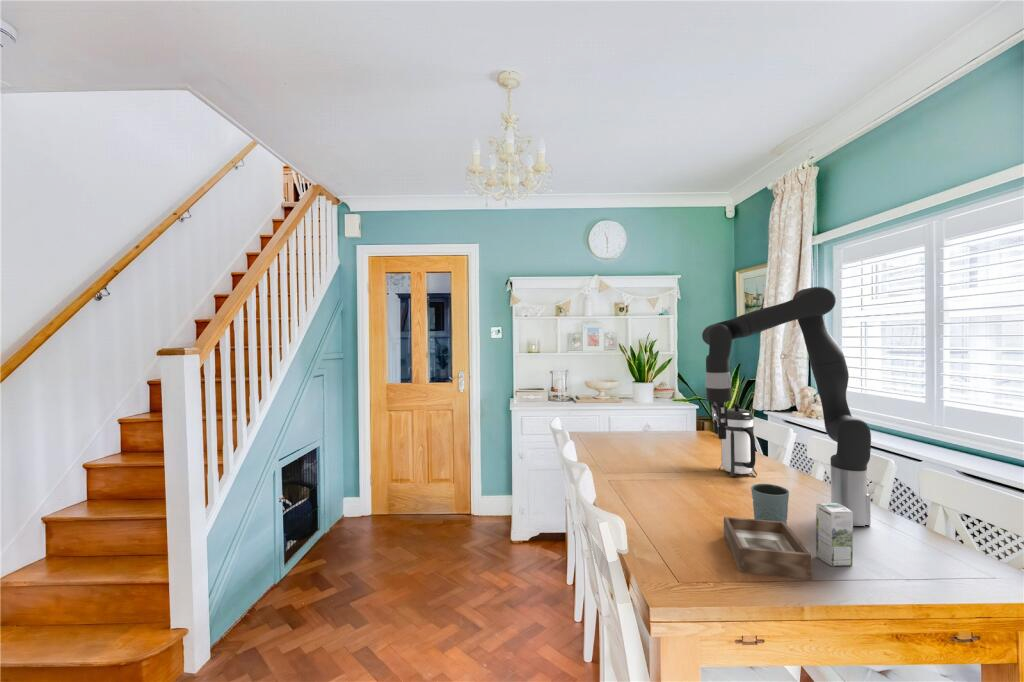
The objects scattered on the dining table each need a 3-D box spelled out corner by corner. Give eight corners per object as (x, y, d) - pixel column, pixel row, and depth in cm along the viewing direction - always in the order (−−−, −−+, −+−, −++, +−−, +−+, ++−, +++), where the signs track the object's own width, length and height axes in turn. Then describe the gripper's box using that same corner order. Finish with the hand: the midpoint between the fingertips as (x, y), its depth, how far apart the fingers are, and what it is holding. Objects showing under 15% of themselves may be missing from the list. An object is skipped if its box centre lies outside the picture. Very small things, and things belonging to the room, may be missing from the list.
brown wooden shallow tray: (784, 542, 129) (784, 521, 129) (811, 579, 110) (811, 555, 109) (723, 537, 133) (723, 516, 133) (739, 571, 114) (739, 548, 114)
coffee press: (711, 474, 191) (710, 404, 191) (727, 466, 202) (726, 399, 202) (755, 483, 178) (754, 408, 178) (769, 474, 189) (768, 403, 189)
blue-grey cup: (789, 524, 141) (788, 486, 140) (789, 537, 132) (789, 496, 132) (752, 518, 146) (752, 481, 146) (750, 530, 137) (750, 491, 137)
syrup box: (836, 555, 121) (835, 501, 121) (853, 566, 115) (853, 510, 115) (815, 556, 121) (815, 502, 120) (832, 567, 115) (831, 511, 115)
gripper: (735, 388, 138) (737, 441, 138) (726, 383, 151) (728, 431, 152) (709, 388, 140) (710, 440, 140) (702, 383, 153) (704, 431, 154)
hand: (720, 435), depth 146 cm, fingers open, 8 cm apart
